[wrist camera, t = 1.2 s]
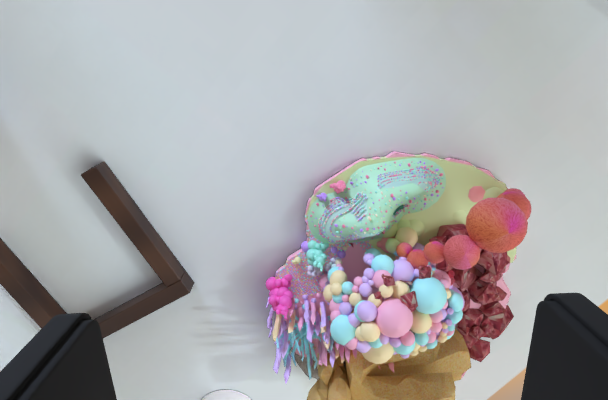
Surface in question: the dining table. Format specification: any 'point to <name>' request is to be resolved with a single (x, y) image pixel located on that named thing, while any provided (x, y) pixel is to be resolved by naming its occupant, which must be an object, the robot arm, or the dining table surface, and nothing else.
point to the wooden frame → (176, 281)
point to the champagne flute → (226, 395)
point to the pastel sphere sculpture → (397, 278)
